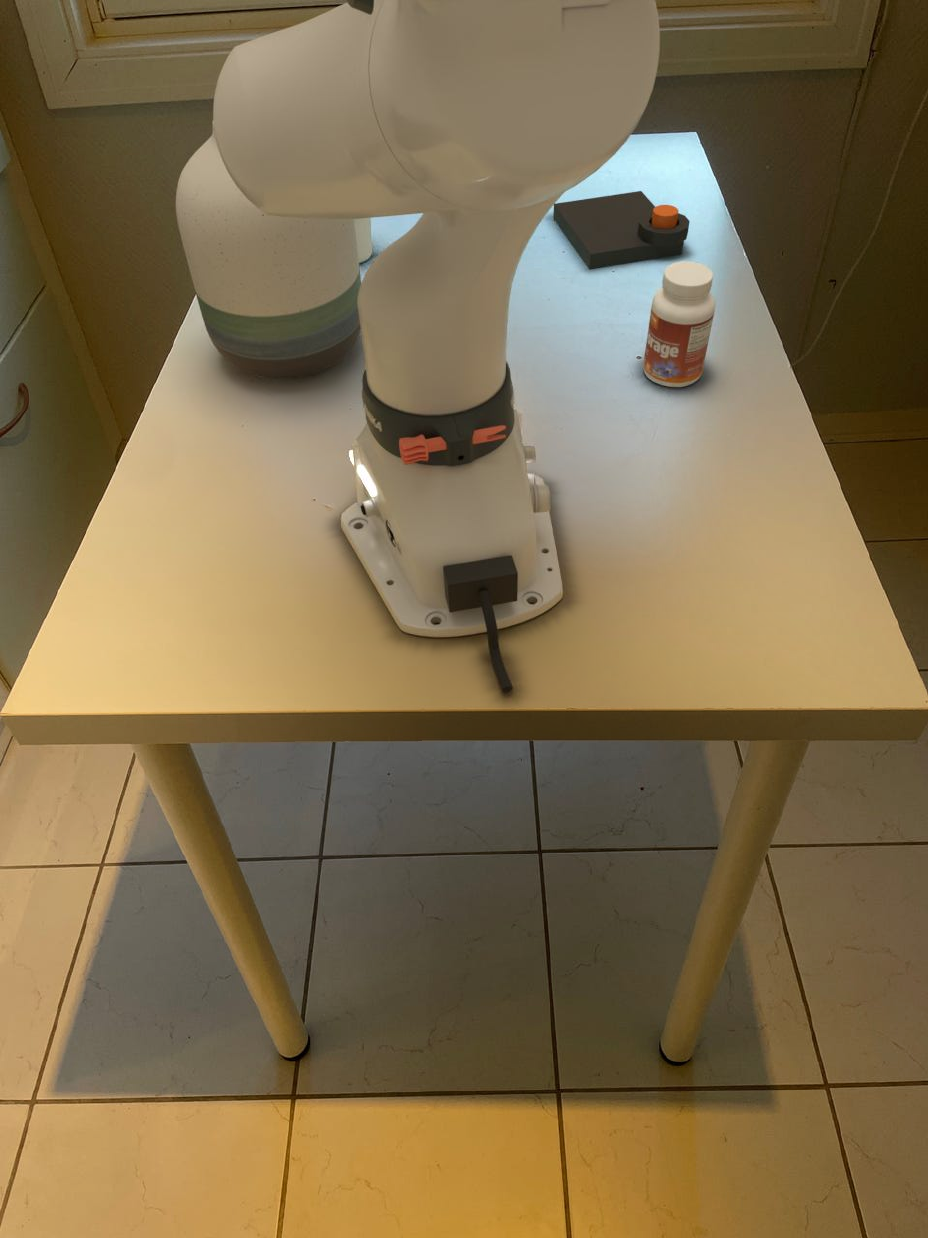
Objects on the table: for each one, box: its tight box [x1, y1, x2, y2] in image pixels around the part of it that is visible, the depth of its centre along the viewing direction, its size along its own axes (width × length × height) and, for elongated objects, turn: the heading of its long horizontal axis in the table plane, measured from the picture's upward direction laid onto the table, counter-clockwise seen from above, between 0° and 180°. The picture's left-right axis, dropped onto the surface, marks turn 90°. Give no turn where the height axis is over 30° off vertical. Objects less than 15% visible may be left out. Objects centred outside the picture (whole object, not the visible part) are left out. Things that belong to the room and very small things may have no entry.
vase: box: [175, 120, 362, 380], centre depth 93 cm, size 17×17×24 cm
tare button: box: [652, 204, 679, 229], centre depth 112 cm, size 3×3×2 cm
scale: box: [552, 190, 691, 270], centre depth 116 cm, size 15×13×4 cm
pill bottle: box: [642, 260, 716, 388], centre depth 93 cm, size 6×6×11 cm
